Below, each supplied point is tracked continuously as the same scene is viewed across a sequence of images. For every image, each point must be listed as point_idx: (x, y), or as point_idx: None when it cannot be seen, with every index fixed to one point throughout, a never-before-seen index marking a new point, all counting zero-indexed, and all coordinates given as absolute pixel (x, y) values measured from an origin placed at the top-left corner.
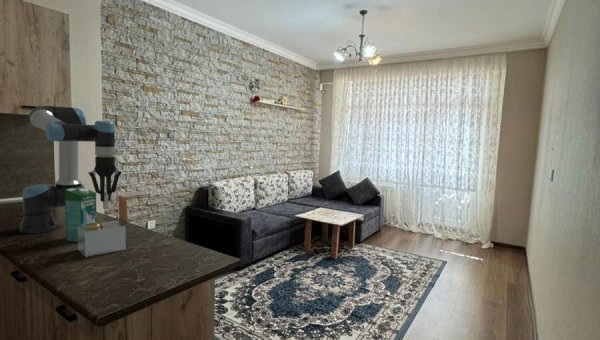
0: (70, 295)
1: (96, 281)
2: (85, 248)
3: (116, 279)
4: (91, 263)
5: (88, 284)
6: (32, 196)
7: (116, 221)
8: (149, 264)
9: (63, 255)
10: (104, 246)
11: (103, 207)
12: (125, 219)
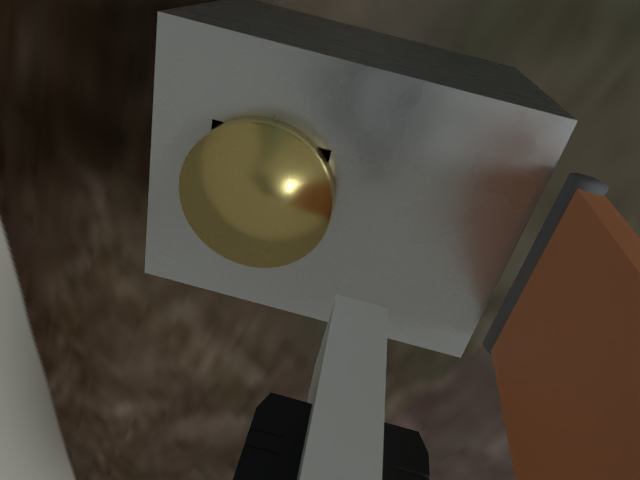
0: (68, 448)
1: (156, 433)
2: None
3: (211, 466)
4: None
5: (128, 432)
6: None
7: (536, 162)
8: None
9: (133, 43)
10: None
11: (328, 322)
12: (498, 367)
